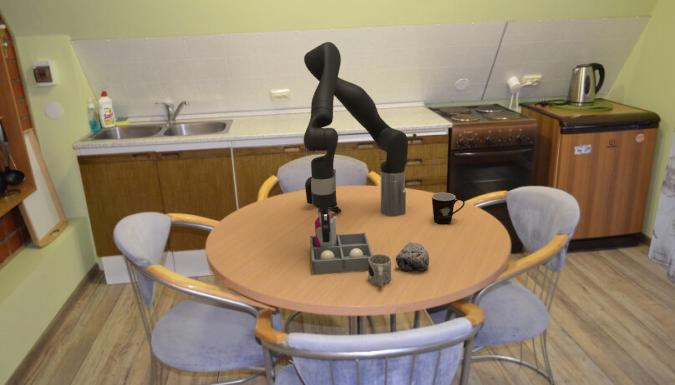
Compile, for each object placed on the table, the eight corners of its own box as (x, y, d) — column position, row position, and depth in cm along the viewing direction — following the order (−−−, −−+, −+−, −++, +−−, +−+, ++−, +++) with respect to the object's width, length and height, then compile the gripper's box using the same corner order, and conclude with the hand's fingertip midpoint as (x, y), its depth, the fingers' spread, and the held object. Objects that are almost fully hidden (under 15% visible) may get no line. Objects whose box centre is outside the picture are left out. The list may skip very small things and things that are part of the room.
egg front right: (334, 259, 165) (333, 247, 163) (335, 266, 161) (334, 253, 159) (320, 260, 164) (319, 248, 163) (321, 267, 160) (320, 254, 159)
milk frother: (324, 199, 220) (323, 166, 215) (354, 206, 211) (354, 172, 206) (302, 210, 209) (300, 175, 204) (333, 217, 200) (332, 181, 195)
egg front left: (362, 258, 165) (362, 245, 164) (364, 264, 161) (364, 251, 160) (348, 258, 165) (348, 246, 164) (350, 265, 161) (349, 252, 159)
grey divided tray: (365, 244, 177) (365, 232, 175) (374, 270, 159) (373, 257, 158) (310, 247, 175) (310, 236, 174) (313, 274, 158) (312, 261, 156)
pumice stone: (406, 283, 156) (436, 269, 157) (400, 262, 152) (430, 249, 154) (393, 267, 165) (421, 254, 167) (387, 247, 162) (415, 234, 163)
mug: (368, 274, 157) (368, 254, 155) (390, 273, 157) (390, 254, 154) (369, 291, 148) (368, 270, 145) (392, 290, 147) (392, 270, 145)
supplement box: (337, 247, 173) (336, 215, 169) (332, 255, 168) (331, 222, 164) (320, 246, 175) (319, 214, 171) (315, 253, 169) (314, 221, 165)
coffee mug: (428, 224, 191) (429, 199, 188) (433, 216, 199) (434, 191, 195) (460, 228, 187) (461, 202, 184) (464, 219, 195) (465, 194, 191)
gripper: (336, 196, 158) (338, 245, 163) (333, 182, 171) (334, 227, 176) (312, 198, 157) (314, 246, 162) (310, 183, 170) (313, 228, 176)
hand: (325, 236), depth 169 cm, fingers open, 8 cm apart
